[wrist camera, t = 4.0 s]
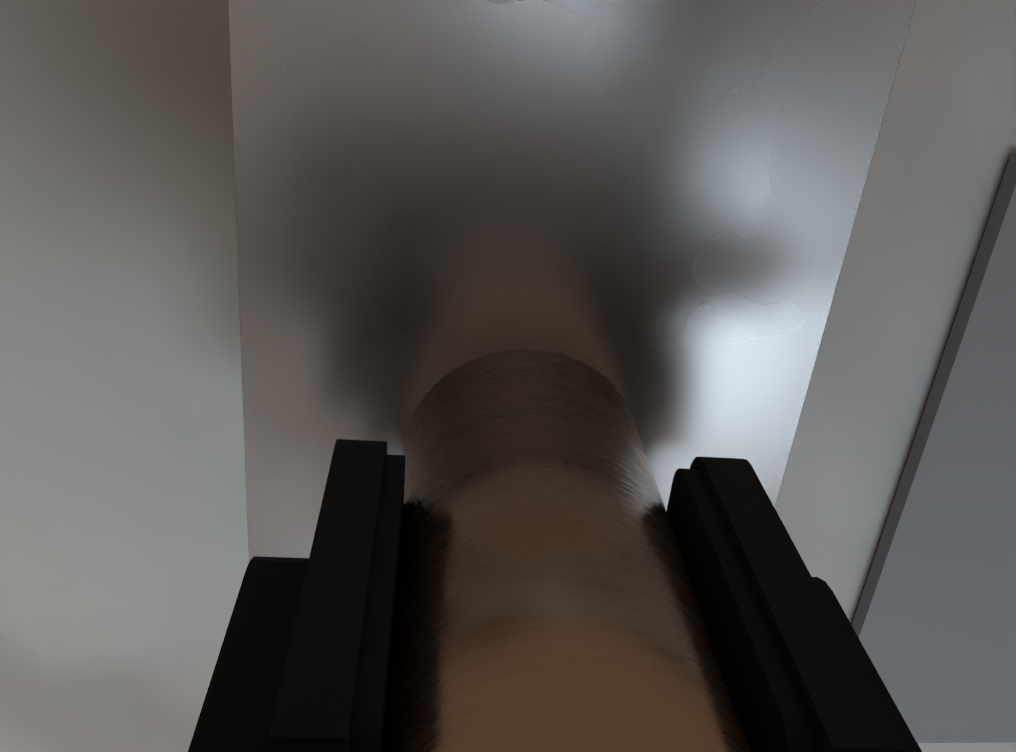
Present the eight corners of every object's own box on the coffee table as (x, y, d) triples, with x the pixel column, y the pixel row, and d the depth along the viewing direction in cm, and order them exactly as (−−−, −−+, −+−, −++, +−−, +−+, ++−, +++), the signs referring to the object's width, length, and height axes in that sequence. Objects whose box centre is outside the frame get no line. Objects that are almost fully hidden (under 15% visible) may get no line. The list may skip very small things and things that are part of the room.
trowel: (922, -185, 9) (2337, -489, 2) (725, 570, 14) (1006, 1252, 7) (242, -272, 9) (-641, -1040, 2) (263, 549, 13) (44, 1276, 6)
